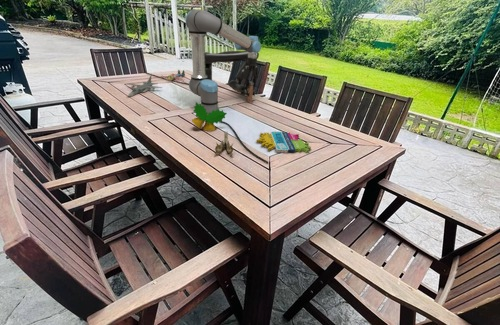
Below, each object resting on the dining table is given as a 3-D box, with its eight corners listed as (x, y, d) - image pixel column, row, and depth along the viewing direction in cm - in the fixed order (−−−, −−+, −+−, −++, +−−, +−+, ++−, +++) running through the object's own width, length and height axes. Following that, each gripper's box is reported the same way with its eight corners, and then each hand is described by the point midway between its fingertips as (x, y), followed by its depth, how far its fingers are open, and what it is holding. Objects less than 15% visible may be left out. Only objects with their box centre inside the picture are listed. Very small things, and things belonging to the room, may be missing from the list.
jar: (246, 101, 223) (247, 82, 216) (251, 100, 225) (252, 82, 217) (247, 102, 220) (248, 83, 212) (252, 102, 221) (254, 83, 213)
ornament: (218, 133, 171) (224, 110, 169) (221, 134, 163) (227, 111, 161) (186, 125, 162) (192, 101, 160) (189, 126, 155) (195, 101, 153)
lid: (250, 85, 212) (250, 83, 211) (246, 84, 215) (246, 81, 214) (255, 85, 215) (255, 82, 214) (251, 83, 218) (251, 81, 217)
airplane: (122, 86, 237) (119, 75, 232) (157, 84, 250) (156, 74, 245) (126, 99, 209) (123, 86, 204) (166, 96, 222) (165, 84, 217)
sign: (313, 150, 142) (258, 149, 139) (312, 153, 143) (258, 152, 140) (301, 132, 164) (254, 130, 161) (301, 134, 165) (254, 133, 162)
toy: (193, 71, 287) (180, 75, 262) (193, 77, 291) (181, 82, 265) (170, 68, 292) (155, 72, 266) (170, 75, 296) (156, 79, 270)
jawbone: (234, 135, 144) (233, 125, 135) (233, 160, 138) (232, 151, 129) (217, 135, 144) (216, 125, 135) (216, 160, 138) (214, 150, 129)
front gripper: (247, 59, 196) (245, 89, 207) (264, 57, 210) (261, 86, 221) (239, 57, 200) (238, 87, 212) (257, 56, 214) (255, 84, 225)
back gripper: (235, 85, 225) (244, 90, 212) (249, 84, 231) (259, 89, 218) (234, 94, 228) (243, 99, 216) (249, 93, 235) (258, 98, 222)
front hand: (250, 87), depth 216 cm, fingers open, 7 cm apart
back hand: (251, 94), depth 217 cm, fingers closed on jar, 4 cm apart
